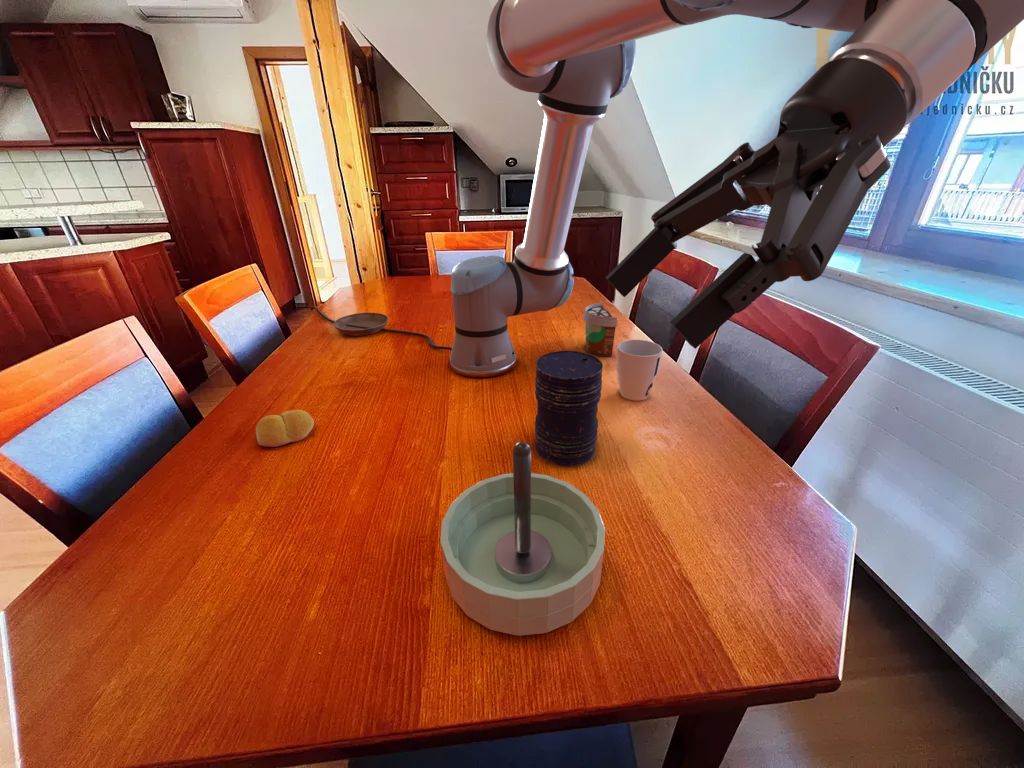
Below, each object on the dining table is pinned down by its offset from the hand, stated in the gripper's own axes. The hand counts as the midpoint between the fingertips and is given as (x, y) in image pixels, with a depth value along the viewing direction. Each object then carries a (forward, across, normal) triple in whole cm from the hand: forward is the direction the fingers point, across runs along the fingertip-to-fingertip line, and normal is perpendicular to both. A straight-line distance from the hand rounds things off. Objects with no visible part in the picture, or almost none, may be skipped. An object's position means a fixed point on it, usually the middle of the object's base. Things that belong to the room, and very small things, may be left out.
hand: (642, 308), depth 36 cm
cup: (+9, +36, -34) cm, 50 cm away
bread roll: (+54, +33, +12) cm, 65 cm away
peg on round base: (+28, 0, -13) cm, 31 cm away
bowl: (+28, 0, -13) cm, 31 cm away
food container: (+9, +59, -33) cm, 68 cm away
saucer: (+51, +85, +9) cm, 100 cm away
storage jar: (+21, +21, -21) cm, 36 cm away
